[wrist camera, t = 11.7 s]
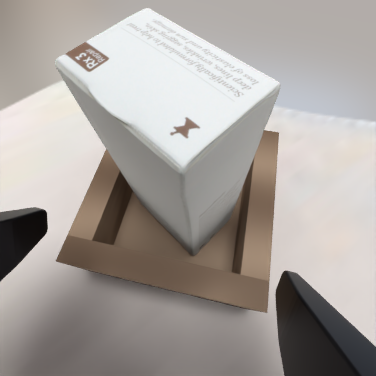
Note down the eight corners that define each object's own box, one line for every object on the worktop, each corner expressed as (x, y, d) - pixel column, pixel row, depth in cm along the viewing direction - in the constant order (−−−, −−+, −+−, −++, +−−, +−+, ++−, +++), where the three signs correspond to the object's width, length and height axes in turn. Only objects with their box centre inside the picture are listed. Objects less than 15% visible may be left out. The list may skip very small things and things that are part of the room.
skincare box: (232, 217, 17) (302, 77, 6) (190, 261, 16) (189, 179, 5) (175, 167, 19) (154, -4, 8) (134, 203, 18) (44, 54, 7)
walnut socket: (247, 309, 16) (267, 312, 12) (88, 270, 17) (55, 261, 13) (261, 165, 20) (278, 132, 16) (137, 143, 22) (125, 107, 18)
